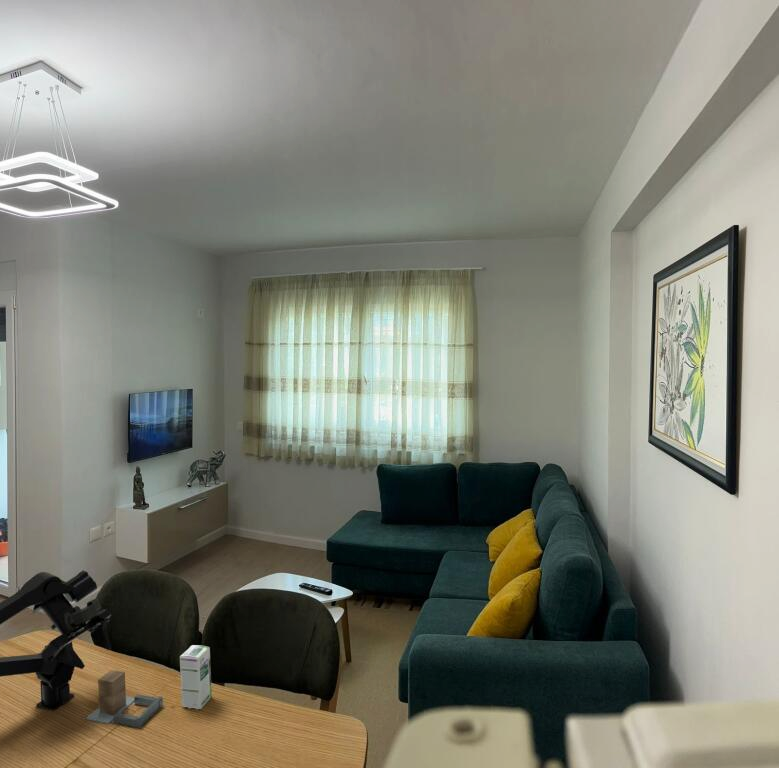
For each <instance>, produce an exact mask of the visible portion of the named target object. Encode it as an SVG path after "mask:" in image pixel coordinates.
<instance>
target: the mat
mask: <svg viewBox="0 0 779 768" xmlns="http://www.w3.org/2000/svg"><path fill="white" fill-rule="evenodd" d="M133 703H135V701H134V697H130V696H126V705H125V706H124V707H123V708H121V709H120V710H119V711H118V712H117V713H123V712H124V711H125V710H126V709H127V708H128V707H129V706H131V705H132V704H133ZM85 719H86V720H88V721H91V722H97V723H103V724H108V725H109V724H110V723H112V721H113V715H110V714H104V713H99V707H98V708H97V709H95V711H93V712H92V713H91V714H90V715H88V716H87V717H86V718H85Z"/></svg>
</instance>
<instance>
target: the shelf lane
mask: <svg viewBox="0 0 779 768" xmlns="http://www.w3.org/2000/svg"><path fill="white" fill-rule="evenodd" d="M133 698H134V705H138V706H143V707H146V709H145V710H143V712H141V713H140V714H139V716H137V715H132V714H127V713H123V712H121V713H116V714H114V715H113V720H112V721H113V724H116V725H122V726H127V727H131V728H137V729H138V728H139V729H141V728H142V727H143V726H144V725H145V724H146V723H147V721H149V720H150V719H151V718H152V717H153V716H154V715H155V714H156V713H157V712H158V711H160V709H161V708H162V707H164V698H163V696H158V697H156V696H155V697H154V696H150V695H143V694H138V693H137V694H136V695H135V696H134V697H133Z"/></svg>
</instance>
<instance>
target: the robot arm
mask: <svg viewBox="0 0 779 768" xmlns="http://www.w3.org/2000/svg"><path fill="white" fill-rule="evenodd" d="M96 590H98V585H97V583H96V581H95V580H94V579H93V578H92V577H91V576H90V575H89V572H88V571H86V570H82V571H80V572H78V573H77V575H75V576H73V577H72V578H70V579H69V580H67V581H64V580H63V579H61V577H59V576H57V575H55V574H52V573H50V572H48V571H47V572H46V571H41V572H37V573H36V574H35V575H33V577H31V578H30V579H29V580H27V581H26V582H25V583H24V584H23V585H22V587H21V588H19V590H18V591H17V592H15V593H14V594H13V595H10V596H9V597H7V598H6V599H4V600H2V601H1V602H0V625H2V624H4V623H5V622H7V621H8V620H10V619H11V618H13V617H14V616H16V615H17V614H19V613H21V612H23V611H24V610H26V609H28V608H29V607H31V606H33V608H32V612H31V613H32V614H36V613H38V612H39V611H40V610H42V612H43V613H44V614H45V615H46V617H48V619H49V621H51V623H52V625H50V628H51V629H52V630H55V629H56V630H57V631H59V633H60V635H59V636H56V637H55V638H53V639H51V640H50V642H49V643H48V644H47V645H45V646H44V648H43V649H42V650H41V651H40V652H39V653H36V654H34V653H33V654H24V655H22V654H21V655H12V656H0V677H10V676H17V675H27V674H35V676H36V678H37V679H38V680H40V682H39V683H40V700H41V701H39V702H38V703H36V704H35V707H36V708H41V709H46V710H52V711H56V710H58V709H59V708H61V706H63V705H64V704H66V703H67V702H68V701H70V700H71V699H72V698H73V697H74V696H75V694H74V693H71V691H70V688H71V687H70V681H72V678H73V674H74V671H75V668H78V669H81V670H83V669H84V668H85V667H86V666H85V663H84V662H83V660H82V659H81V658H80V656H79V655H78V653H76V651H75V650H74V647H73V641H74V640H76V639H77V638H79V637H80V636H81V635H83V634H85V633H86V632H91V633H90V636H91V637H92V638H93V640H95V641H96V642H97V643H99V644H100V645H101V646H102V647H103V648H104V649H106V650H108V651H109V650H111V649H112V645H111V641H110V637H109V633H108V628H107V627H108V623H109V621H110V617H111V616H112V614H111V612H110V611H109V610H108V609H105V608H103V609H102V605H101V603H100V602H99V600H98V599H96V598H94V599H91V600H89V601H88V602H86V606H84V607H83V608H81V607H80V606H78V605H76V606H73V605H72V603H79V602H80V601H83V600H84V599H85V598H86V597H88V596H89V595H90V594H92V593H93V592H95V591H96Z"/></svg>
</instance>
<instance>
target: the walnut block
mask: <svg viewBox="0 0 779 768" xmlns="http://www.w3.org/2000/svg"><path fill="white" fill-rule="evenodd" d="M97 683H98V685H97V686H98V708H99V713H104V714H110V715H114V714H116V713H117V712H118V711H119V710H120V709H121V708H123V707H124V706H125V705H126V697H127V696H126V695H127V694H126V672H125V671H121V670H114V669H110V670H108V671H107V672H106V673H105V674H104V675H102V676H101V677H100V678H98V680H97Z"/></svg>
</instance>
